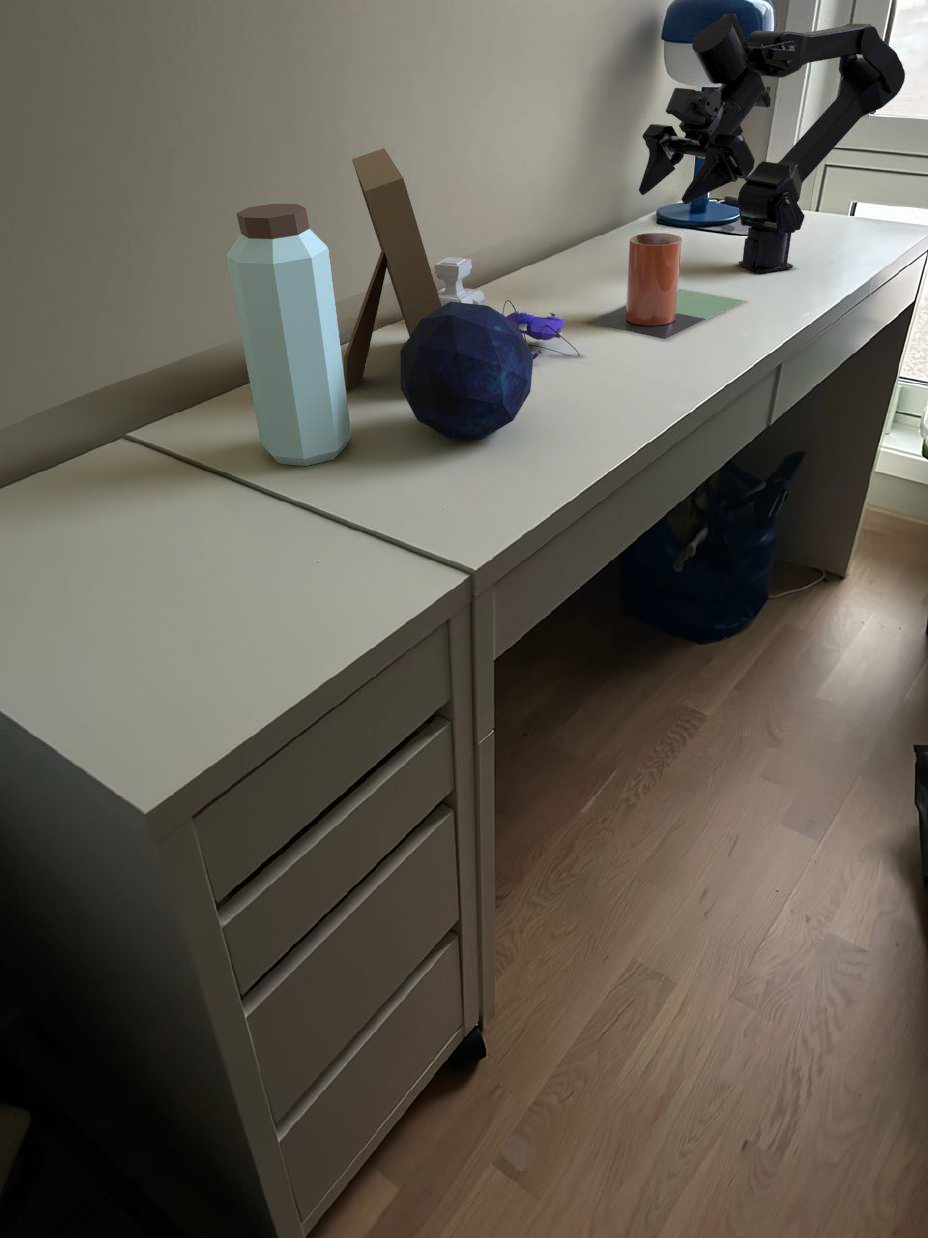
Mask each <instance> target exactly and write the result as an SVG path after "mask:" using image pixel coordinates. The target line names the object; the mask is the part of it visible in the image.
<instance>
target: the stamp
mask: <svg viewBox="0 0 928 1238" xmlns="http://www.w3.org/2000/svg"><path fill="white" fill-rule="evenodd" d="M472 263H473V262H472V258H464V257H454V256H453V257H452V256H447V257H446V258H444V259H442V260H440V261H438V262H436V263H435V264H434V275H436V278H437V279H438V280H441V281H444V283H445V286H444V287H443V288H442V289H439V290H437V293H438V296H439V299H440V303H441V306H444V305H445V304H447V303H449V302H460V303H469V304H478V305H483V303H484V301H485V300H486V298H485V294H484V292H483V291H482V290H481V289H477V288H467V287H464V286H463V280H464V279H465V278H466V277H468V276H469V275H470V274H471V269H473V264H472Z"/></svg>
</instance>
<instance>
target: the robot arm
mask: <svg viewBox="0 0 928 1238" xmlns="http://www.w3.org/2000/svg"><path fill="white" fill-rule="evenodd" d="M691 47H692V50H693V53H694V54H695V56H696V58H697V60H698V62H699V64H700V66H701V68H702V69H703V72H704V73H705V76H706V77H707V79H708V81H709V82H710V83H711V84H714V85H718V84H720V86H719V88H718V89H717V88H711V87H710V88H709V87H707V88H705V89H704V90H703V91H701V90H695V89H692V88H684V87H675V88H674V89H673V92H672V93H671V96H670V99H669V101H668V104H667V106H666V108H665V113H666V114H668V115H671V116H673V117H674V118H676V119H677V120H679V121H680V123H679V125H678V127H679V128H680V131H681V132H682V133H684V134H685V135H684V136H679V135H678V134H677V132H676V130H675V128H674V126H673V125H668V124H661V123H651V124H649V126H648V127H647V128H646V129H645V131H644V132H643V134H642V136H641V137H642V140H644V143H645V145H646V148H647V149H648V159H647V162H646V163H647V164H646V167H645V170H644V173H643V175H642V179H641V182H640V184H639V188H638V192H639V193H640V195H641V196H645V195H646V194H648V193H649V192H650V191H652V189H655V187H656V186H657V185H658V184H660V183H661V182H662V181H663V180H664V179H666V178H667V177H668V176H669V175H670V174H672V173H673V172H674V171H675V170H676V167H675V166H677V165H678V164H680V162H681V161H682V160H683V159H684V157H685V156H684V155H688V156H694V157H697V158H698V159H704V162H703V164H702V166H701V168H700V169H699V171H698V172H697V174H696V175H695V176H694V178H693V179H692V181H691V182H690V183H689V185H688V187H687V188H686V190H685V191H684V193H683V195H682V197H681V201H682V203H683V205H688V204H689V203H692V202H693V201H695V200H697V199H699V198H701V197H703V196H705V195H707V194H708V193H710V192H713V191H715V190H717V189H718V188H721V187H723V186H726V185H728V184H730V183H736V182H737V181H738V179H742V180H744V181H745V183H743V185H741V186H742V187H740V189H739V191H738V197H737V204H738V205H737V207H738V212H739V220H740V226H743V227H748V229H747V237H745V239H744V245H743V253H742V260H740V261H738V265H739V266H741V267H743V268H746V269H748V270H750V271H752V272H755V273H757V274H764V273H771V272H778V271H784V270H791V269H793V268H794V264H792V263H790V262H788V261H789V253H790V246H791V239H792V234H794V233H796V231H800V230H801V229H802V226H803V222H804V220H805V217H806V215H805V213H804V212H803V210H802V209H801V207H800V206H799V204H798V202H799V201H800V199H801V193H802V187H803V183H804V182H805V180H806V179H807V178H808V177H809V176H810V175H811V174H812V173H813V172H814V171H815V170H816V168H817V167H818V166H819V165H820V164H821V163H822V162H823V160H825V159H826V157H827V156H828V155H829V154H830V153H831V152H832V150H834V148H835V147H836V146H837V145H838V144H839V143H840V142H841V140H843V138H844V137H845V136H846V135H847V134H848V133H849V131H851V130H852V129H853V127H854V126H855V125H856V124H857V123H858V122H859V121H860V120H861V119H862V118H863V117H865V116H867V115H870V114H871V113H874V112H875V111H878V110H880V109H883V108H884V107H885V106H887V104H889V103H890V102H891V101H892V100H894V98H896V96H898V94H899V93H900V91H901V89H902V88H903V85H904V83H905V80H906V71H905V69H904V65H903V63H902V61H901V60H900V57H899V56H898V53H897V52H896V50H895V49H894V48H893V47H891V46H890V45H889V44H888V43H887V42H886V41H884V39H882V38H881V36H880V34H879V31H878V30H877V28H876V27H875V26H874V25H872V24H870V23H845V25H842V26H837V27H832V28H825V29H818V30H813V31H808V32H807V31H806V32H796V31H785V30H784V31H783V30H782V31H781V30H754V31H753V32H751V33H750V34H748V36H747V40H746V38H745V35H744V33H743V31H742V28H741V27H740V22H739V19H738V17H737V15H736V13H723V15H722V16H721V17H720V19H718V20H716V21H713V22H712V23H710V24H708V25H707V26H705V27H704V28H703V29H702V30H699V31H698V32H697V34H696V35H695V37H694V39H693V41H692V45H691ZM859 55H860V56H861V57H858V56H859ZM838 58H839V64H838V72H839V74H840V76H841V80H840V83H839V88H838V95H837V97H836V98H835V99H834V100H833V102H832V103H831V104H830V105H829V106H828V107H827V108H826V110H824V111H823V113H822V114H821V115H820V116H819V117H818V118H817V120H815V122H813V123H812V125H811V126H810V127H809V128H808V130H807V131H805V133H804V134H803V135H802V136H801V137H800V138H799V140H798V141H797V142H795V143H794V144H793V146H792V147H791V148H790V149H789V150H788V151H787V153H786V154H785V155H784V156H783V157H782V158H781V159H780V160H779V161H778V162H771V161H765V160H762V161H761V162H760V163H759V164H757V166H756V167H755V163H756V162H755V161H756V158H755V156H754V154H753V152H752V150H751V148H750V146H749V144H748V142H747V140H746V138H745V136H744V135H743V133H744V130H743V128H742V127H741V125H742V124H743V122H744V121H745V120H746V119H747V117H748V116H749V115H750V113H751V112H752V110H753V109H754V108H755V107H758V108H770V106H771V102H772V98H771V86H769V85H765V82H764V81H763V80H764V79H763V78H764V77H765V78H777V79H778V78H779V79H780V78H781V79H783V78H786V77H787V76H790V75H792V74H794V73H796V72H799V71H800V70H801V68H802V67H803V66H805V65H807V64H809V63H816V62H821V61H827V60H832V59H838ZM762 77H763V78H762ZM754 168H755V169H754ZM751 172H752V173H751Z"/></svg>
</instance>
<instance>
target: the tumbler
mask: <svg viewBox="0 0 928 1238" xmlns="http://www.w3.org/2000/svg"><path fill="white" fill-rule="evenodd" d="M682 244H683V238H682V237H681V236H680V235H677V234H673V233H666V232H665V233H664V232H650V233H649V232H648V233H640V234H635V235H633V236H632V237H630V238H629V244H628V245H629V246H628V247H629V248H628V267H627V270H628V271H627V285H626V287H627V289H626V305H625V306H626V320H627V321H629V322H631V323H634V324H638V325H645V326H656V325H664V324H668V323H671V322H673V321H674V320H675V319H676V308H677V296H678V289H679V284H680V283H679V281H680V270H681V269H680V268H681V257H682Z"/></svg>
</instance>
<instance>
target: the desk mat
mask: <svg viewBox="0 0 928 1238" xmlns="http://www.w3.org/2000/svg"><path fill="white" fill-rule="evenodd" d="M742 302H743V300H741V299H736V298H735V299H734V298H729V297H723V296H718V295H713V294H709V293H708V294H707V293H702V292H696V291H691V290H686V289H680V288H678V296H677V308H676V319H675V320H674V321H673V322H671V323H668V324H664V325H656V326H645V325H638V324H634V323H631V322H629V321H627V320H626V305H625V306H622V307H620V308H618V309H615V310H613V311H611V312H608V313H606V314H603V315H601V316H600V317H597V318H595V319H593V320H590V321H588V323H590V324H594V325H599V326H604V327H607V328H613V329H617V330H622V331H626V332H632V333H634V334H640V335H643V336H644V335H645V336H649V337H654V338H659V339H663V340H667V339H668V338H671V337H673V336H675V335H676V334H679V333H681V332H682V331H685V330H687V329H688V328H689V329H690V328H691V327H693V326H695V325H697V324H700V323H701V322H703V321H705V320H707V319H710V318H712V317H714V316H716V315H718V314H719V313H722V312H723V311H726V310H728V309H730V308H732V307H734V306H736V305H738V304H740V303H742Z"/></svg>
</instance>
